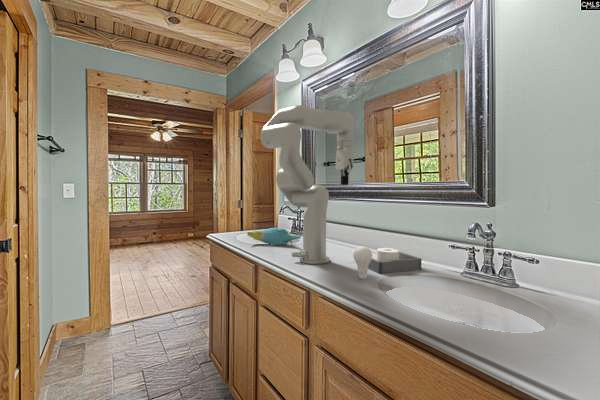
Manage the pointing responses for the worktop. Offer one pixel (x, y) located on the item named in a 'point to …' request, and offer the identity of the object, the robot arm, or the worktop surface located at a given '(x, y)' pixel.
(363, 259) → the lightbulb
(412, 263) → the box
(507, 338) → the worktop surface
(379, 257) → the toilet paper
